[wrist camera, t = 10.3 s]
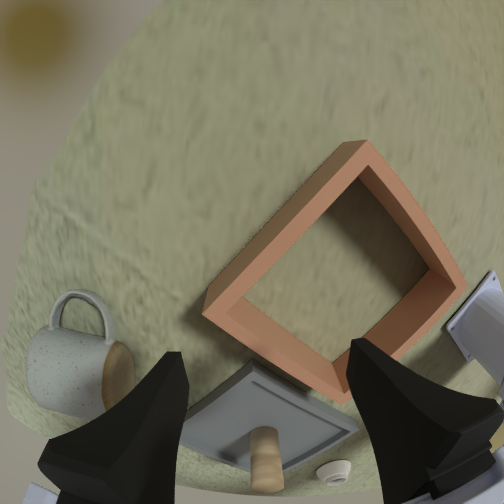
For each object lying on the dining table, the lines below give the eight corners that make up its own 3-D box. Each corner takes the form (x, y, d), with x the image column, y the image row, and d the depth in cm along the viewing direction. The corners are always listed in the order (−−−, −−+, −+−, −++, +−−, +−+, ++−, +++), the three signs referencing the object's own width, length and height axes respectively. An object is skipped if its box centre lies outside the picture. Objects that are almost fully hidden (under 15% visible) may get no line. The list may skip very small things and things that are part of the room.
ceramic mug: (144, 386, 24) (123, 447, 17) (74, 372, 24) (43, 422, 16) (127, 287, 21) (84, 342, 14) (48, 280, 21) (-4, 321, 13)
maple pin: (283, 432, 26) (291, 485, 19) (264, 443, 27) (268, 495, 20) (263, 422, 25) (267, 479, 19) (243, 434, 26) (244, 489, 19)
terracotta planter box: (441, 267, 21) (468, 285, 17) (330, 374, 24) (341, 405, 20) (343, 141, 18) (367, 139, 14) (208, 286, 21) (201, 314, 17)
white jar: (354, 463, 31) (342, 454, 30) (359, 478, 28) (347, 470, 27) (324, 476, 32) (309, 468, 31) (327, 491, 29) (312, 484, 28)
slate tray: (356, 420, 27) (360, 429, 26) (270, 470, 30) (271, 478, 29) (252, 359, 23) (252, 371, 22) (165, 426, 26) (163, 436, 25)
